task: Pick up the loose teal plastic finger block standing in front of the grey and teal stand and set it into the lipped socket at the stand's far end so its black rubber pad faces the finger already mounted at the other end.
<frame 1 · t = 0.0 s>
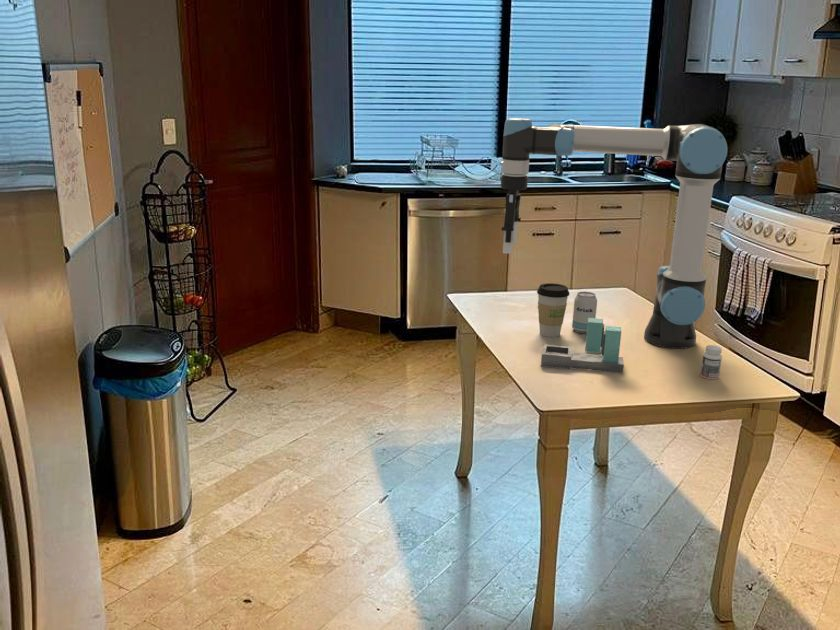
hand: (509, 248, 231), 28 cm above the table, fingers open, 13 cm apart
grey and teal stand: (581, 365, 220), on the table
coffee cup: (549, 334, 246), on the table
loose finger: (592, 349, 233), on the table
beverage can: (582, 331, 249), on the table
pill bottle: (709, 377, 215), on the table
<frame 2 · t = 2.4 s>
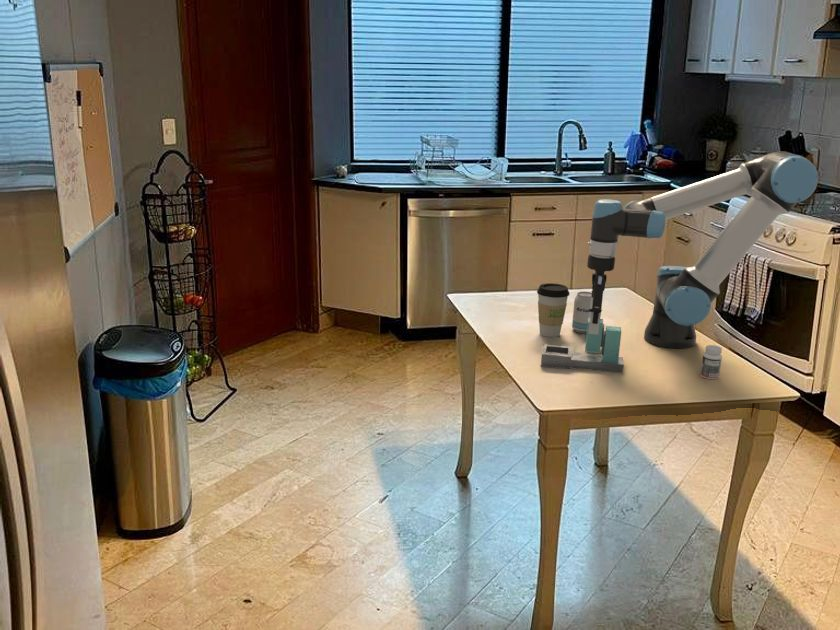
hand: (593, 326, 231), 7 cm above the table, fingers open, 13 cm apart
nothing on the table moved.
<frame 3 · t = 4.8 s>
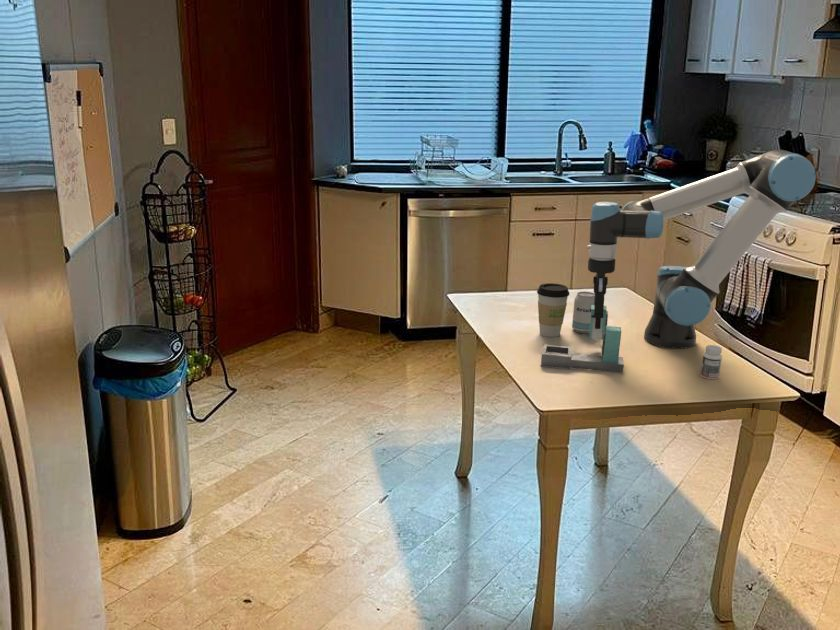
hand: (596, 335, 232), 4 cm above the table, fingers closed on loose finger, 4 cm apart
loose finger: (596, 337, 232), point 4 cm above the table, touching gripper
everything else where it was.
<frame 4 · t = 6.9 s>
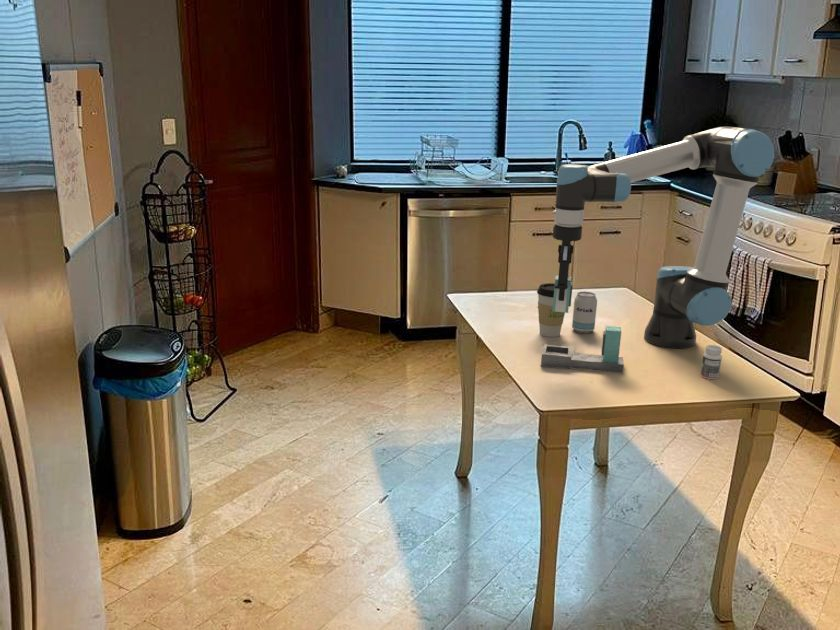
hand: (560, 308, 217), 16 cm above the table, fingers closed on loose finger, 4 cm apart
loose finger: (560, 309, 217), point 15 cm above the table, touching gripper
everything else where it was.
when the fingers open (5 cm above the table, at t = 9.4 s): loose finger drops 2 cm, resting on grey and teal stand.
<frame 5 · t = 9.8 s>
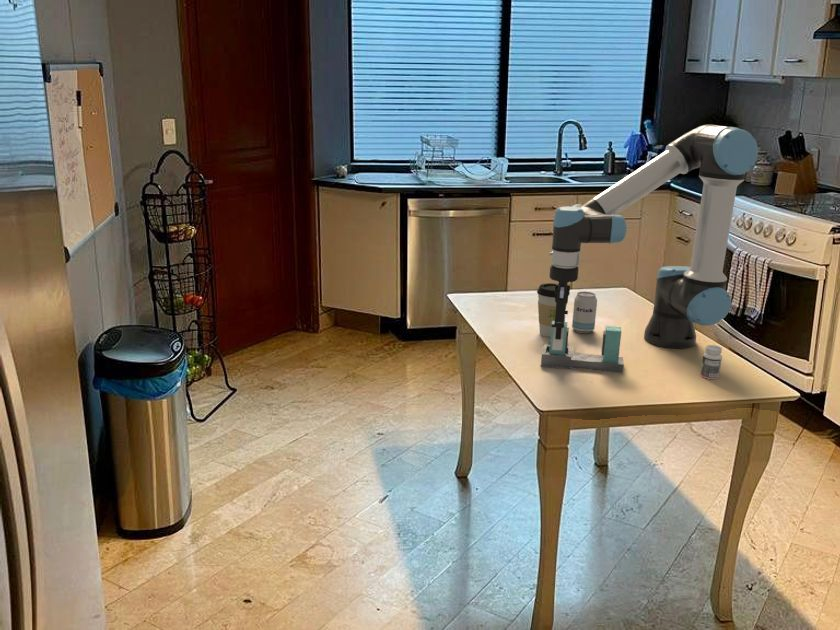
hand: (557, 343, 220), 6 cm above the table, fingers open, 10 cm apart
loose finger: (556, 354, 221), point 2 cm above the table, touching grey and teal stand
everything else where it was.
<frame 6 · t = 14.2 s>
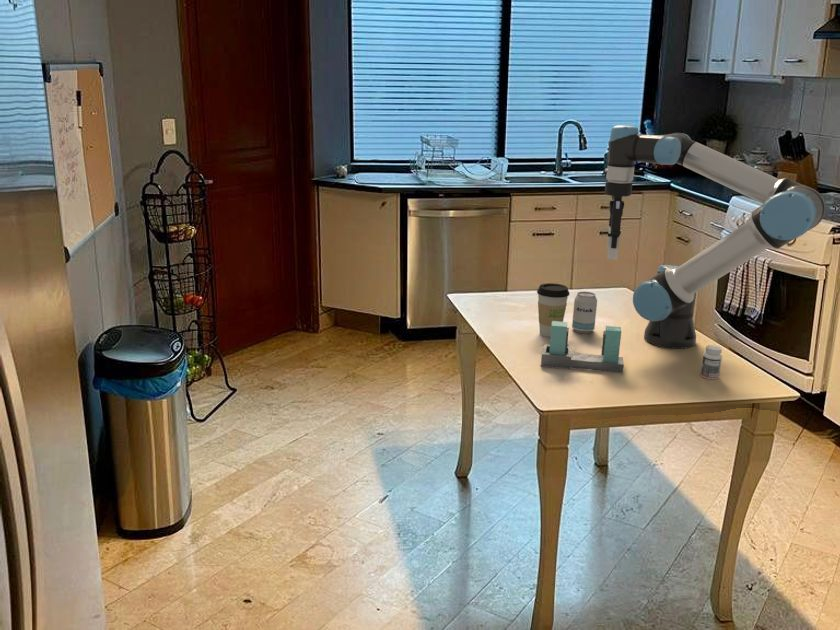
hand: (611, 253, 234), 27 cm above the table, fingers open, 13 cm apart
nothing on the table moved.
at the end: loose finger 0.0 cm from the target spot on the grey and teal stand, point 2.4 cm above the grey and teal stand's base; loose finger tilted 0°; the gripper is holding nothing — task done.
